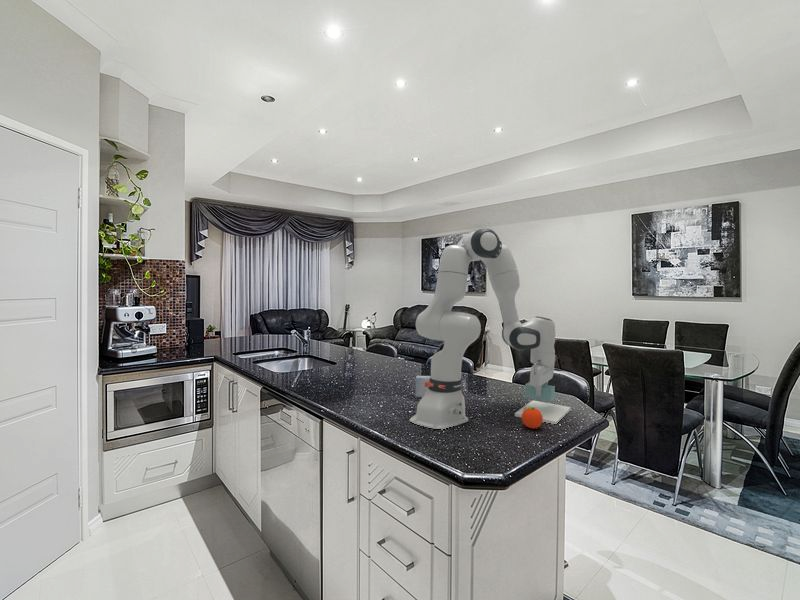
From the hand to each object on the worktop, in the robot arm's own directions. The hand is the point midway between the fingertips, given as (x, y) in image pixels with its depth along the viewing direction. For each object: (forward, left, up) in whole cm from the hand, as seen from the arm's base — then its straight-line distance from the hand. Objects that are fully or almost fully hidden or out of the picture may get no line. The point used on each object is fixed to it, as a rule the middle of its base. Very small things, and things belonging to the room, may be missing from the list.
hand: (541, 393), depth 153 cm
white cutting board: (0, -1, -7) cm, 7 cm away
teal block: (0, +6, +1) cm, 6 cm away
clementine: (-19, -2, -8) cm, 21 cm away
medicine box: (-10, +47, -8) cm, 49 cm away
